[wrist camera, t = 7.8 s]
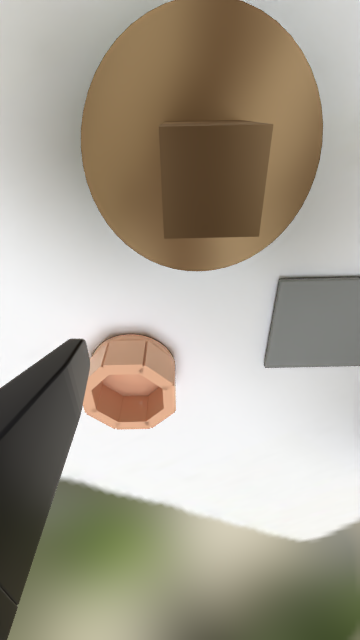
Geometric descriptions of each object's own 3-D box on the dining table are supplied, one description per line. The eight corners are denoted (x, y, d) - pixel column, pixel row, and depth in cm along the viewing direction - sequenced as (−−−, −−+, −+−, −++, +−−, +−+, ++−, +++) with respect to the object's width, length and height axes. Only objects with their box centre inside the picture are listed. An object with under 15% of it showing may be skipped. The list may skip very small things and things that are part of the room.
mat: (422, 275, 21) (426, 278, 21) (382, 362, 26) (385, 365, 26) (279, 279, 21) (281, 281, 21) (264, 364, 26) (265, 368, 26)
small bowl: (173, 333, 24) (173, 363, 21) (176, 395, 28) (176, 428, 25) (84, 335, 24) (71, 365, 21) (99, 397, 28) (90, 429, 25)
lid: (344, -1, 11) (478, -91, 6) (291, 262, 16) (339, 325, 12) (61, 4, 11) (-30, -80, 6) (104, 266, 16) (76, 330, 12)
